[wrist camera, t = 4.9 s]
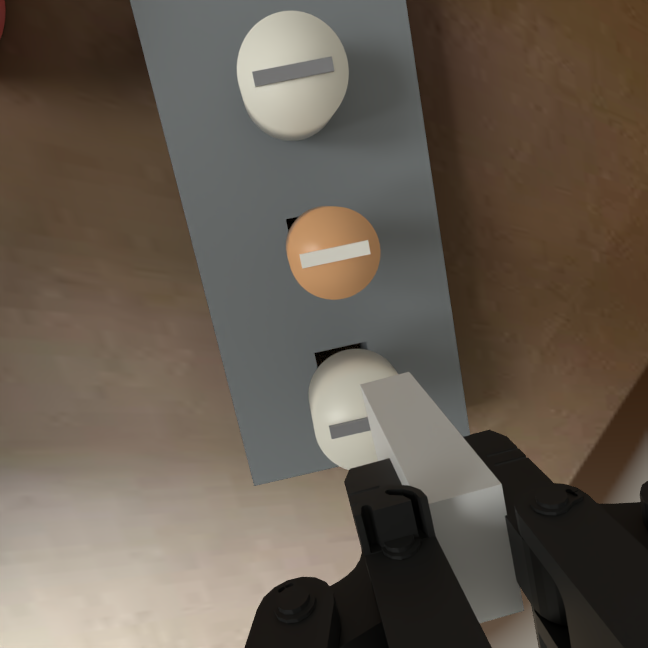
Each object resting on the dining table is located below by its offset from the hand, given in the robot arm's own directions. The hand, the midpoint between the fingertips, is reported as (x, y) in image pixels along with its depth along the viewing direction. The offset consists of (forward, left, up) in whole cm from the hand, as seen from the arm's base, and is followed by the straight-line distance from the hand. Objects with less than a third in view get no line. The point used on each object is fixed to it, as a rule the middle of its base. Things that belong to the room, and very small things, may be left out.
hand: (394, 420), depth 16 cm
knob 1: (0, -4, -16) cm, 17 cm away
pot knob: (0, +4, -16) cm, 17 cm away
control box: (0, +4, -20) cm, 21 cm away
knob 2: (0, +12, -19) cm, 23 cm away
